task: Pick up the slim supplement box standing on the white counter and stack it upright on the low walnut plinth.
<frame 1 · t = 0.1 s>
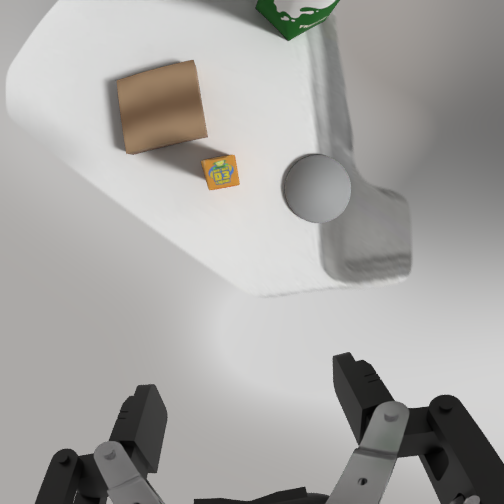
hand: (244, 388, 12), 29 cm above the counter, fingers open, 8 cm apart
walnut plinth: (163, 109, 35), on the counter
grey coaster: (318, 188, 39), on the counter
supplement box: (222, 170, 38), on the counter
milk carton: (290, 13, 32), on the counter
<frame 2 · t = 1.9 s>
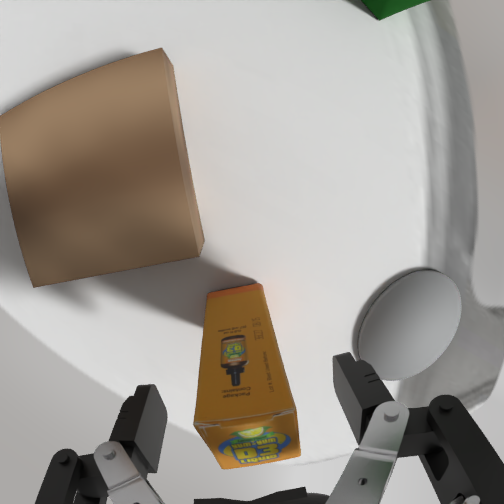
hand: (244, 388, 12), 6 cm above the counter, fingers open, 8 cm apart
walnut plinth: (102, 172, 15), on the counter
grey coaster: (412, 328, 20), on the counter
supplement box: (240, 310, 18), on the counter
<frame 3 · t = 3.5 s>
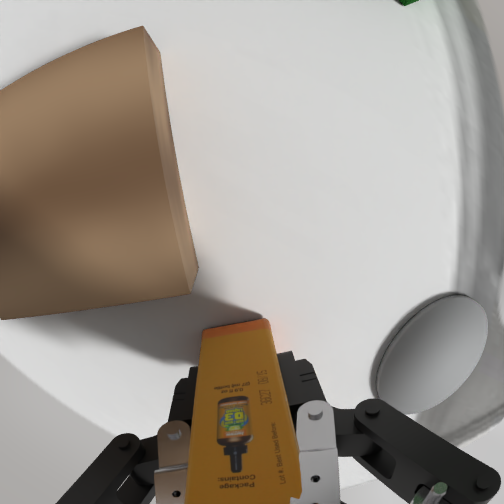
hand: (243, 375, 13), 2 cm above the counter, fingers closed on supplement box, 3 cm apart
walnut plinth: (75, 183, 12), on the counter
grey coaster: (435, 358, 16), on the counter
supplement box: (242, 347, 15), on the counter, touching gripper
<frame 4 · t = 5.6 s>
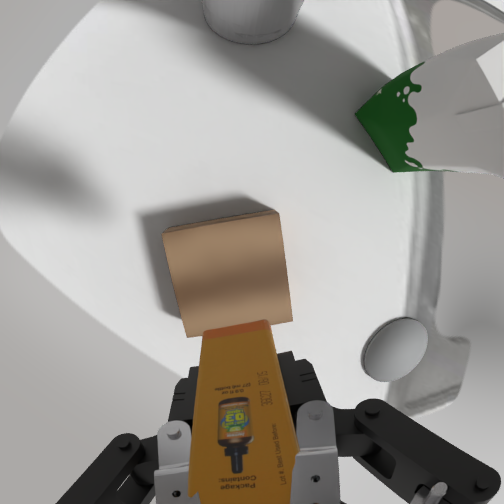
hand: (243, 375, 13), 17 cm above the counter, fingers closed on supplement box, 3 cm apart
walnut plinth: (229, 269, 29), on the counter
grey coaster: (396, 350, 33), on the counter
supplement box: (242, 348, 15), point 15 cm above the counter, touching gripper
milk carton: (395, 126, 27), on the counter
when the fingers open (5 cm above the counter, at t = 8.0 s): supplement box stays where it is, resting on walnut plinth.
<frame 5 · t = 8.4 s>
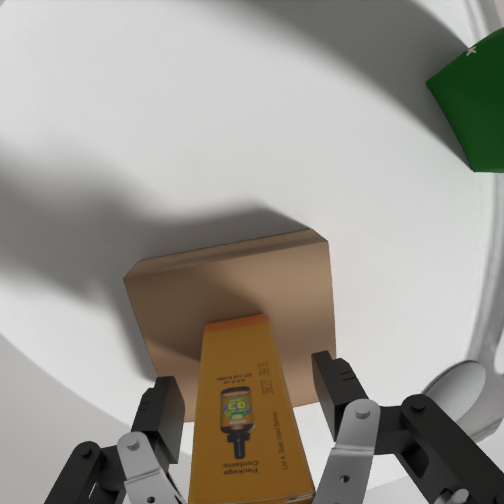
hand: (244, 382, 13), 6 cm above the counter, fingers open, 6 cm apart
walnut plinth: (240, 323, 18), on the counter
grey coaster: (450, 399, 22), on the counter
supplement box: (242, 342, 15), point 3 cm above the counter, touching walnut plinth
milk carton: (473, 106, 16), on the counter
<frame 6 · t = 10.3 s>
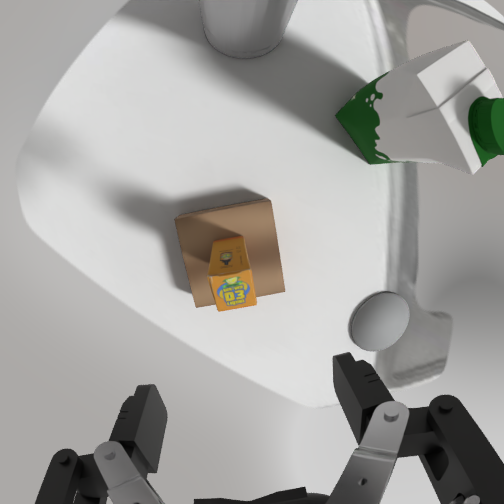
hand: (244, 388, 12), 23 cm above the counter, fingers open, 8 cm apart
walnut plinth: (231, 249, 35), on the counter
grey coaster: (380, 322, 39), on the counter
supplement box: (231, 252, 32), point 3 cm above the counter, touching walnut plinth
milk carton: (371, 124, 32), on the counter
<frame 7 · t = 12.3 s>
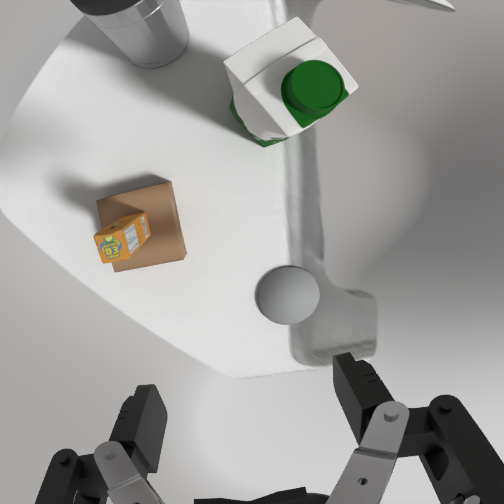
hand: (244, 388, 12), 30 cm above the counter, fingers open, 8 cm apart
walnut plinth: (144, 225, 40), on the counter
grey coaster: (288, 296, 44), on the counter
supplement box: (138, 226, 37), point 3 cm above the counter, touching walnut plinth
milk carton: (266, 111, 37), on the counter
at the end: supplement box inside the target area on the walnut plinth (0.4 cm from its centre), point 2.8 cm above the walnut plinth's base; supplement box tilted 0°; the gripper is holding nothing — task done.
